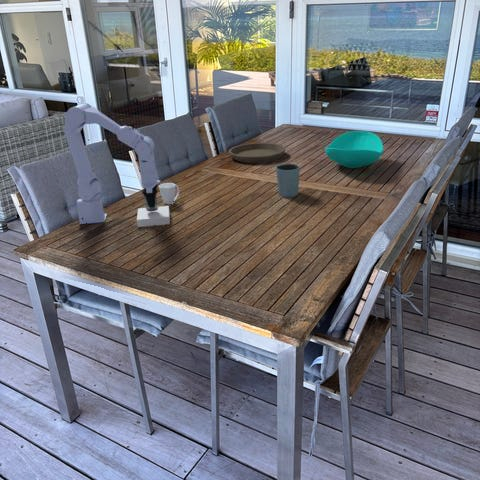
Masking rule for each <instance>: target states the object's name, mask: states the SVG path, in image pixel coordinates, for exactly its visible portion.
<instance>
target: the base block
mask: <svg viewBox="0 0 480 480" xmlns="http://www.w3.org/2000/svg"><path fill="white" fill-rule="evenodd" d="M170 214H171V212H170V205H164V206H163V205H162V206H158V210H156V211H151V212H150V211H147V210H146V207H142V208H141V207H139V208H137V216H136V224H137V228H143V227H144V228H145V227H154V225H156V226H164V225H165V226H166V224H167V225H170V224H171V215H170Z"/></svg>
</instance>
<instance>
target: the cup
mask: <svg viewBox="0 0 480 480" xmlns="http://www.w3.org/2000/svg"><path fill="white" fill-rule="evenodd" d="M158 189H159V191H160V197H161V199H162V201H163V203H164V202H165V203H170V204H172V205H174V204H175V201H176V200H177V199H178V197H179V195H180V188H179V185H178V184H175V183H174V182H164V183H160V185H158ZM176 189H177V192H176ZM173 201H174V202H173ZM171 202H172V203H171ZM173 203H174V204H173Z"/></svg>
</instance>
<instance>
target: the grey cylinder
mask: <svg viewBox="0 0 480 480" xmlns="http://www.w3.org/2000/svg"><path fill="white" fill-rule="evenodd" d="M143 196H144V195H143ZM144 203H145V208H146V210H147V211H150V212H151V211H156V210H158V207H159V205H158V197H157V195H156V198H155V207H151V208H149V206H148V203H147V200H146V198H145V196H144Z"/></svg>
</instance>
